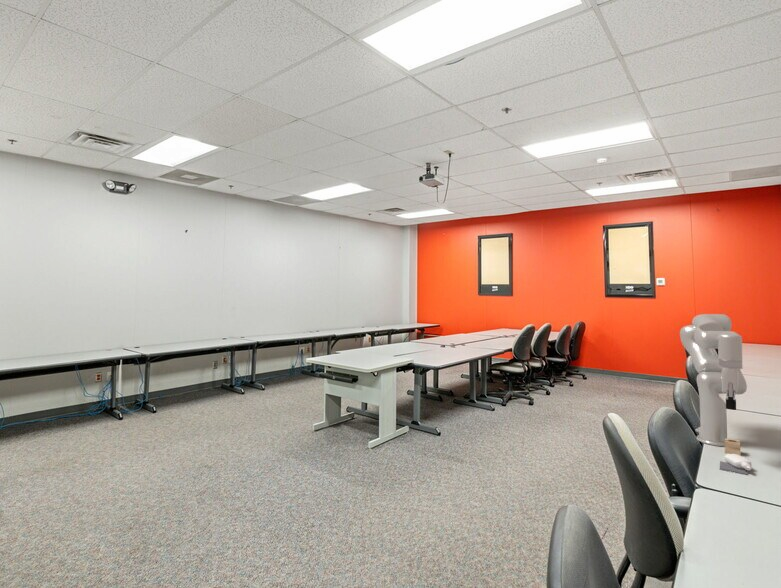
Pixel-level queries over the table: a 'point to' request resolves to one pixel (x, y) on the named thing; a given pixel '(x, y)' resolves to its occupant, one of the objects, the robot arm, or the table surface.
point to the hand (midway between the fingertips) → (731, 408)
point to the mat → (732, 468)
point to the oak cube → (732, 446)
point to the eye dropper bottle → (738, 461)
